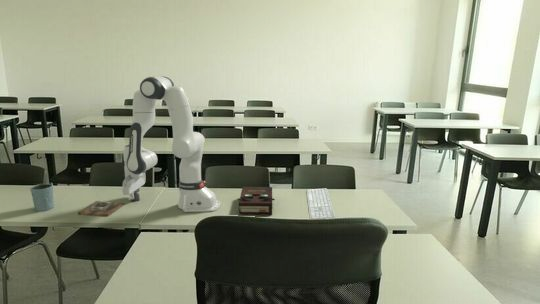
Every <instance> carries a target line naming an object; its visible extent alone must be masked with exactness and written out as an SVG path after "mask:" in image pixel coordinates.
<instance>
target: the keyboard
mask: <svg viewBox="0 0 540 304" xmlns="http://www.w3.org/2000/svg"><path fill="white" fill-rule="evenodd" d="M306 198H307V203H308V204H307V206H308V214H309V219H310V220H311V219H325V220H327V219H326V218H335V219H336V215H335V212H334V208H333V204H332V201H331V199H330V194H329V191H328V188H326V187H325V188H314V189H313V188H310V189H306Z"/></svg>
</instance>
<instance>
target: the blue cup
mask: <svg viewBox="0 0 540 304" xmlns="http://www.w3.org/2000/svg"><path fill="white" fill-rule="evenodd" d="M29 190H30V193H31V197H32V202H33V207H34V211H35V210H36V211H35V212H47V211H51V210H53V209H54V206H55V204H54V202H55V201H54V184H52V183H39V184H34V185H32V186H30V187H29ZM52 208H53V209H52ZM50 209H51V210H50Z"/></svg>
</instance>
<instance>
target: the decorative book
mask: <svg viewBox="0 0 540 304" xmlns="http://www.w3.org/2000/svg"><path fill="white" fill-rule="evenodd" d="M236 200H238V201H239V202H238V208H239V211H238V215H240V216H242V215H244V216H273V201H275V198H273V187H272V186H242V187H241V192H240V197H239V198H237V199H236Z"/></svg>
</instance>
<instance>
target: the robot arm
mask: <svg viewBox="0 0 540 304" xmlns="http://www.w3.org/2000/svg"><path fill="white" fill-rule="evenodd" d="M157 100H159V101H160V100H164V102H165V104H166V107H167V111H168V114H169V118H170V123H171V126H172V144H171V151H172V153H173V155H174V156H175V157H176V158H179V159H181V160H180V163H179V167H178V169H179V181H178V190H179V198H178V203H177V208H178V209H180V210H182V211H183V212H185V213H188V212H189V213H191V212H192V213H198V212H199V213H201V212H202V213H203V212H204V213H205V212H215V211H217V210H218V209H219V208H220V206H221V201H220V200H218V199H217V197H216V194H215V192H213V191H212V190H211V189H210V188H208V187H206V180H203V179H202V158H203V151H204V146H205V143H206V138H205V136H204V135H203V134H202V133H200V132H198V131H194V116H193V115H194V114H193V112H192V109H191V105H190V102H189V99H188V96H187V94H186V91H185V90H184V88H183V87H182V86H179V85H175V84H174V82H173V80H172V79H171V78H169V77H167V76H158V75H155V76H149V77H145V78H144V79H142V81H141V82H140V85H139V89H138V90H136V91H135V92H134V94H133V97H132V122H131V126H130V130H129V137H128V138H129V141H128V142H129V143H128V144H126V145H125V146H124V148H123V153H122V154H123V156H122V157H123V162H124V180H123V181H122V194H123V195H127V196H129V197H130V199H134V198H135V195H134V194H133V193H134V191H135V190H137V191H139V196H140V194H141V193H140V192H141V187H142V186H144V185H145V183H146V179H147V178H146V171H148V170H150V169H151V168H153V167H156V165H157V164H158V161H159V159H158V155H157V154H156V152H154V151H153V150H151V149H147V148H144V147H143V139H144V136H145V134H147V131H149V129H151V128H152V127H153V126H154V125H155V122H156V102H157Z"/></svg>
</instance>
